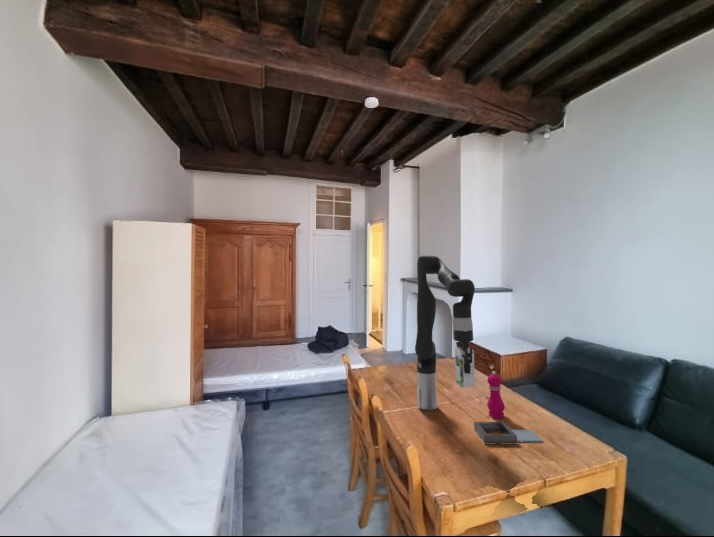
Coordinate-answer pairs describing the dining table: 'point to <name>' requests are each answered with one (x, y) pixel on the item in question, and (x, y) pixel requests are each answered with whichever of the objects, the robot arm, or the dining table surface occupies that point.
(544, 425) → the dining table surface
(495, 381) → the pepper mill
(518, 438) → the slate mat
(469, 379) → the syrup box
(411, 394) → the dining table surface
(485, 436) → the iron collar
